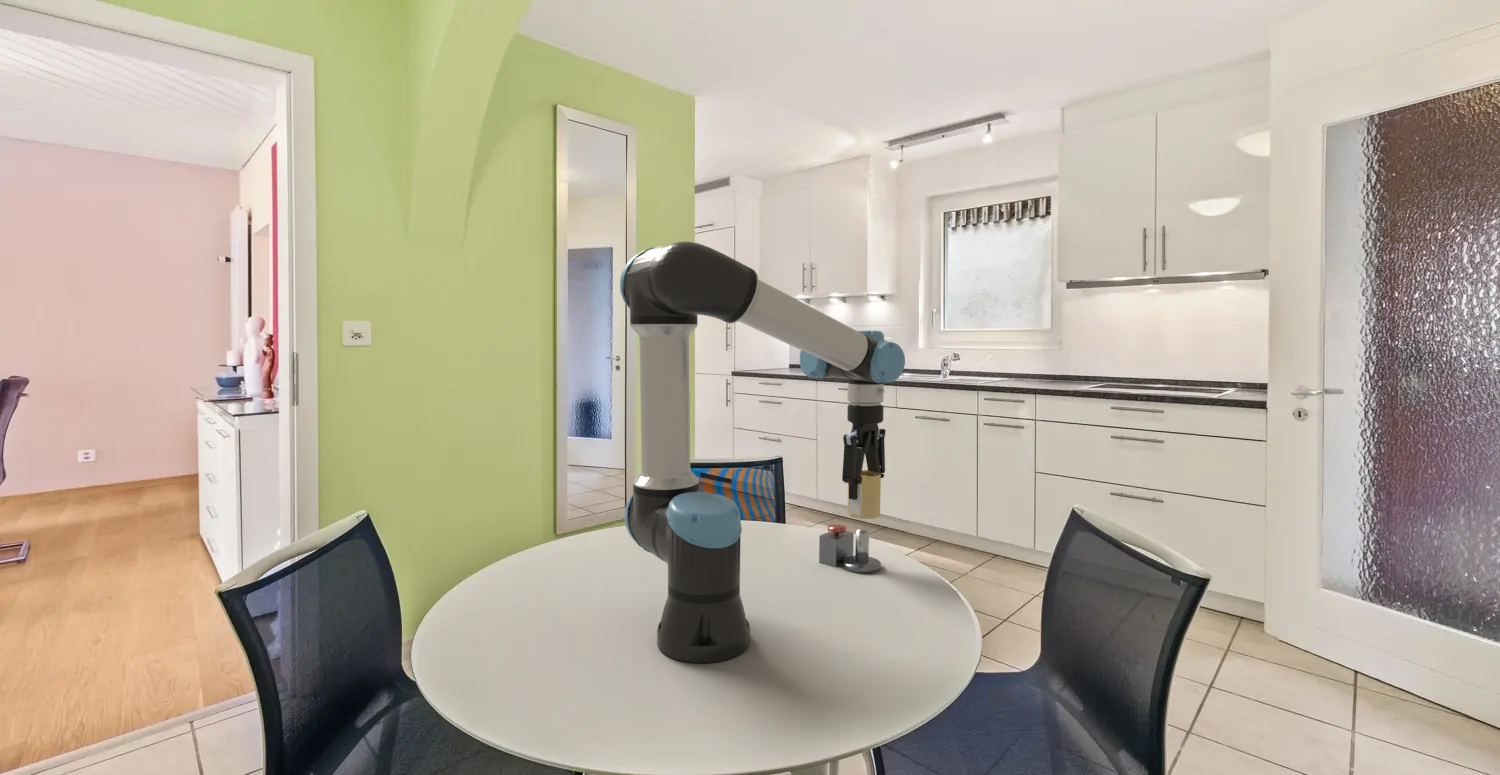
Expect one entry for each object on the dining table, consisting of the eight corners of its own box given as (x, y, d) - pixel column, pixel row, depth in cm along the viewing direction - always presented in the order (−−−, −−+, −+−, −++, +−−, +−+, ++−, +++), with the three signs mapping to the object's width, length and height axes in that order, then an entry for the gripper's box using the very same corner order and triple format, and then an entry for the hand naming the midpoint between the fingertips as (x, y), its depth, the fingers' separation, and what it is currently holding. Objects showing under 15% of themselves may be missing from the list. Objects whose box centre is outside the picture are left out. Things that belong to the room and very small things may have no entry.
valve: (868, 576, 141) (869, 537, 141) (817, 562, 150) (818, 526, 149) (887, 566, 148) (888, 529, 147) (837, 554, 156) (838, 518, 155)
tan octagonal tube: (869, 520, 142) (869, 477, 141) (842, 514, 146) (843, 473, 145) (884, 514, 147) (885, 472, 146) (858, 509, 151) (859, 468, 150)
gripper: (856, 408, 134) (855, 523, 136) (903, 401, 149) (900, 504, 151) (825, 406, 139) (823, 516, 141) (873, 398, 154) (871, 499, 156)
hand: (863, 510), depth 146 cm, fingers closed on tan octagonal tube, 6 cm apart
